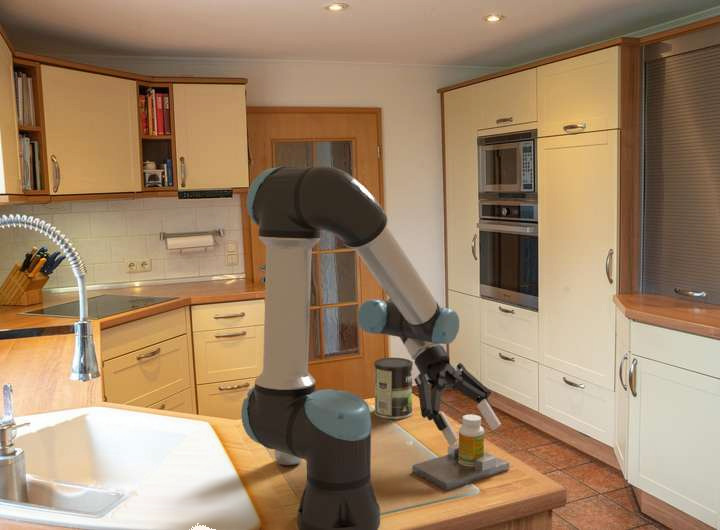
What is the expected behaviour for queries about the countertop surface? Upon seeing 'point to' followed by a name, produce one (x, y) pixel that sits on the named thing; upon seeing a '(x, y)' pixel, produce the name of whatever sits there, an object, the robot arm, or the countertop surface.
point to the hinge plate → (458, 469)
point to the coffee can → (393, 388)
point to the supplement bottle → (471, 439)
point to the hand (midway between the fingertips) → (476, 434)
